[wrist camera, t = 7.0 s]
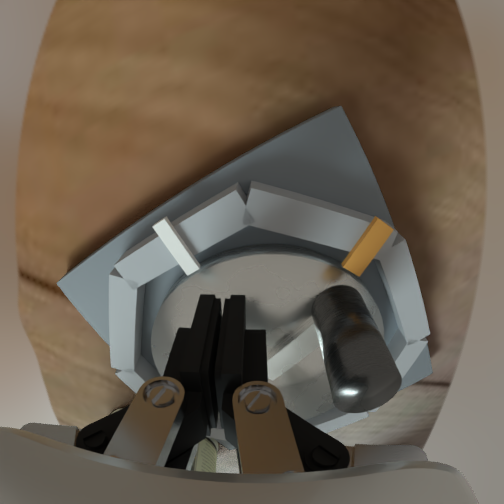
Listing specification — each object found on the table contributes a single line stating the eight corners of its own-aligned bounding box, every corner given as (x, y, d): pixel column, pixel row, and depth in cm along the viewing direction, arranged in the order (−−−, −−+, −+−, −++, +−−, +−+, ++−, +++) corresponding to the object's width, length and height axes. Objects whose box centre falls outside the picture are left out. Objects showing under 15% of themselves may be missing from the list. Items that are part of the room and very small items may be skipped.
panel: (426, 361, 18) (441, 389, 16) (230, 438, 22) (228, 467, 19) (333, 107, 12) (354, 104, 9) (66, 273, 15) (41, 299, 13)
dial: (271, 430, 19) (274, 504, 14) (120, 348, 16) (83, 431, 10) (413, 332, 15) (458, 411, 10) (259, 187, 12) (264, 248, 7)
